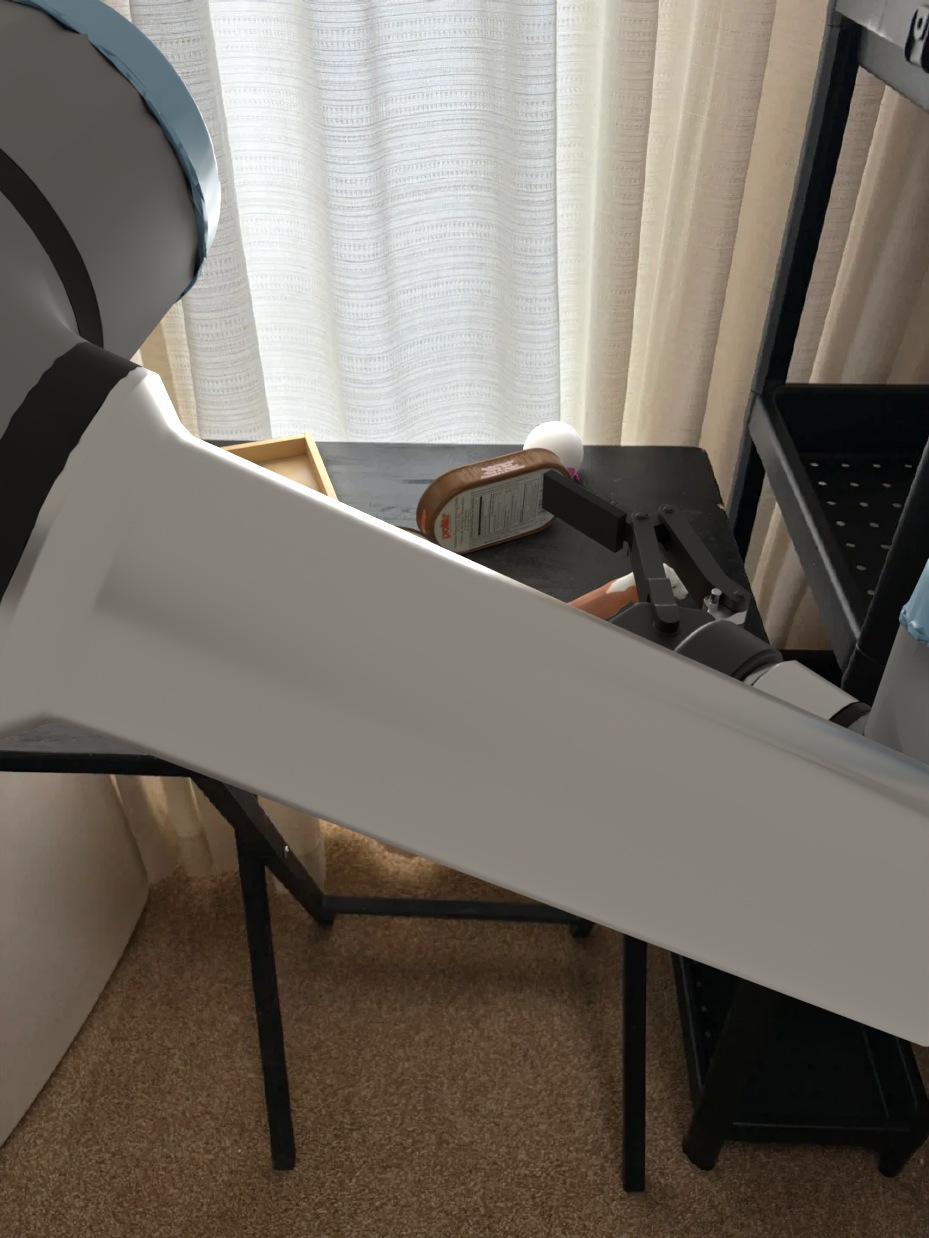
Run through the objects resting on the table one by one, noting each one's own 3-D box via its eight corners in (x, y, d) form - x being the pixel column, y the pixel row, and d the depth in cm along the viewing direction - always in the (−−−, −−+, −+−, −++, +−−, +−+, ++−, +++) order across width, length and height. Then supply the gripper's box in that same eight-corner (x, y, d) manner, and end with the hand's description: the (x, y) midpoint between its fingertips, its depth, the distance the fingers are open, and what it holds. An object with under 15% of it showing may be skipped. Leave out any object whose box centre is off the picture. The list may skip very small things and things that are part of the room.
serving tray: (197, 554, 96) (192, 533, 94) (180, 475, 105) (175, 454, 104) (342, 527, 99) (340, 505, 97) (313, 453, 109) (310, 432, 107)
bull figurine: (686, 648, 86) (701, 572, 81) (546, 704, 81) (552, 626, 76) (655, 617, 89) (667, 541, 84) (518, 669, 84) (522, 592, 79)
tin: (557, 509, 101) (563, 433, 95) (574, 526, 99) (580, 450, 93) (415, 551, 96) (412, 475, 90) (429, 571, 94) (427, 493, 88)
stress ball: (529, 485, 110) (494, 439, 106) (595, 446, 107) (561, 398, 103) (533, 525, 104) (496, 478, 100) (603, 486, 101) (567, 436, 98)
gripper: (567, 901, 49) (308, 667, 61) (866, 658, 61) (602, 502, 73) (577, 800, 44) (293, 566, 56) (901, 557, 56) (611, 408, 68)
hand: (467, 530), depth 65 cm, fingers open, 13 cm apart
